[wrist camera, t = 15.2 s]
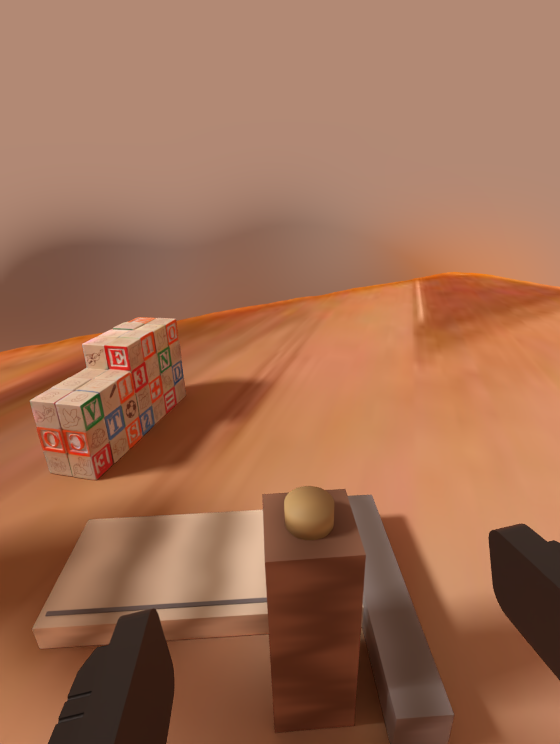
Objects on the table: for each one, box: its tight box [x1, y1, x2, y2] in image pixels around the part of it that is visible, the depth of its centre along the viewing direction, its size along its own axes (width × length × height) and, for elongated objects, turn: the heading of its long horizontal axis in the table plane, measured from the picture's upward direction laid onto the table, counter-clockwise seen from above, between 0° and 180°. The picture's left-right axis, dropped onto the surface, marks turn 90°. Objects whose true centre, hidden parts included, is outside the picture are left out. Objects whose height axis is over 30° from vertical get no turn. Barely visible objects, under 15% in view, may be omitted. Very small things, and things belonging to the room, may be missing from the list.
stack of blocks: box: [30, 317, 186, 480], centre depth 53 cm, size 21×6×12 cm, turn 166°
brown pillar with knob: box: [262, 486, 366, 733], centre depth 23 cm, size 4×4×14 cm
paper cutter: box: [32, 495, 454, 744], centre depth 29 cm, size 25×17×3 cm
